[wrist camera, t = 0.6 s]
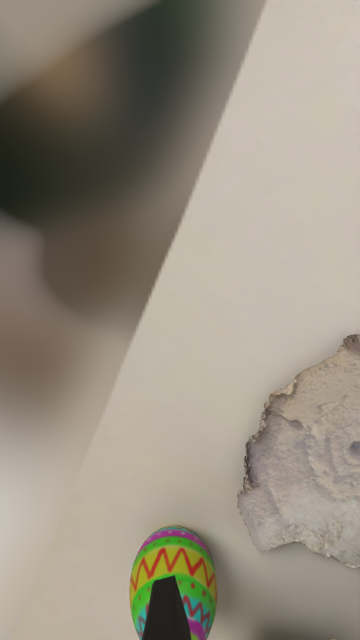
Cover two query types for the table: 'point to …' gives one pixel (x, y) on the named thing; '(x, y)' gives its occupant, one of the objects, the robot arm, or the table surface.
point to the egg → (190, 572)
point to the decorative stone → (309, 462)
